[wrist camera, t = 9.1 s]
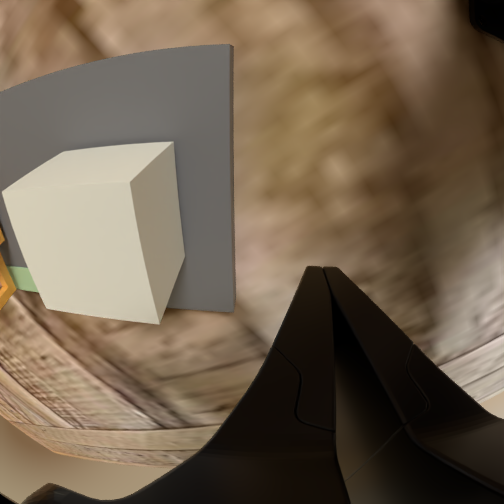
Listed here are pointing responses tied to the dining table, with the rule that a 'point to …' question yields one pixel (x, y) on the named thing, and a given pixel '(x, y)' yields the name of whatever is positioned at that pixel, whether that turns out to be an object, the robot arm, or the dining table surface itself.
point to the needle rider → (5, 280)
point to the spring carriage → (102, 230)
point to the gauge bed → (134, 132)
